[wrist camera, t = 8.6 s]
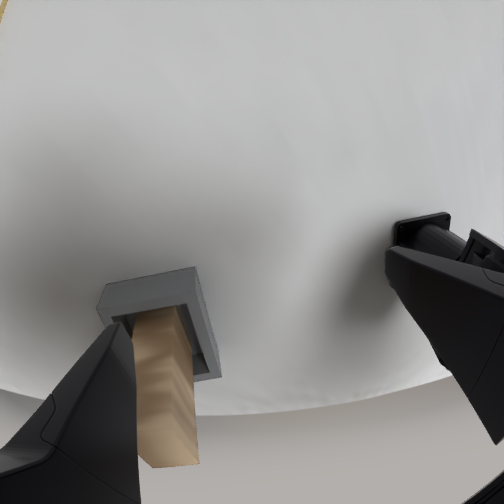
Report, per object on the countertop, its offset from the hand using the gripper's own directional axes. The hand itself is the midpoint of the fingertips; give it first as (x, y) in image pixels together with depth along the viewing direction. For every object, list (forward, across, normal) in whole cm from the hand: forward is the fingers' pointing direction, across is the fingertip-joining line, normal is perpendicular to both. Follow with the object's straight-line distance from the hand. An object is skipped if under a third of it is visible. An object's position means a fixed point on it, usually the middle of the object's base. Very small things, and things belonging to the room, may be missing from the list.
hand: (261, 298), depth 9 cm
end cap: (+12, +7, +9) cm, 17 cm away
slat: (+11, +7, +9) cm, 16 cm away
